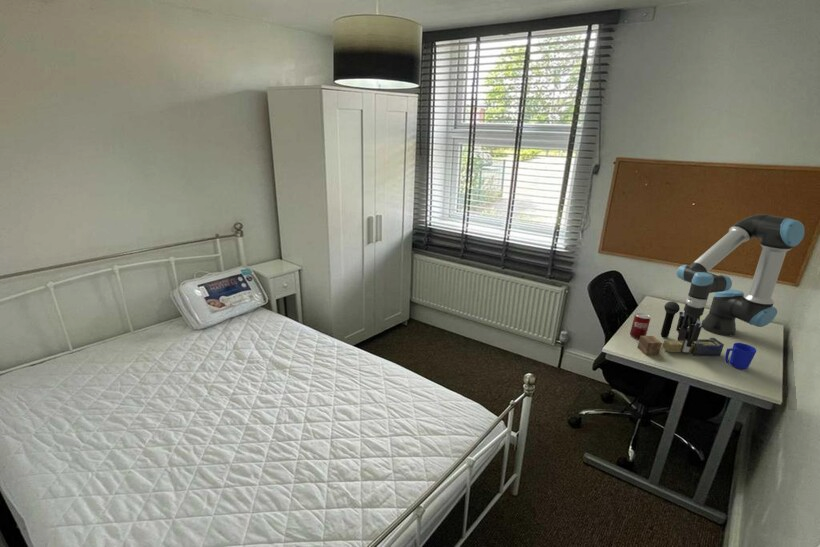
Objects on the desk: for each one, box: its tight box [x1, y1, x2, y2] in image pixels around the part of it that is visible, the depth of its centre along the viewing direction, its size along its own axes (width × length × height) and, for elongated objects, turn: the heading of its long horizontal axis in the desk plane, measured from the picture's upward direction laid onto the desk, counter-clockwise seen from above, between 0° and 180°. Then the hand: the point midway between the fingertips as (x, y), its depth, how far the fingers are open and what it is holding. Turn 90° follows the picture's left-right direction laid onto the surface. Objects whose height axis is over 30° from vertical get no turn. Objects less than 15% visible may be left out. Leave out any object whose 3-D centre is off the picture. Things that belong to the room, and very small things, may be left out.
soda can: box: [629, 312, 651, 340], centre depth 205 cm, size 7×7×12 cm
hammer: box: [662, 327, 717, 353], centre depth 191 cm, size 24×4×11 cm, turn 91°
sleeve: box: [688, 337, 725, 357], centre depth 193 cm, size 13×7×6 cm, turn 91°
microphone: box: [660, 301, 681, 339], centre depth 204 cm, size 7×7×20 cm
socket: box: [637, 335, 663, 356], centre depth 192 cm, size 6×7×7 cm
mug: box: [724, 342, 757, 370], centre depth 181 cm, size 8×12×10 cm
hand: (682, 349), depth 193 cm, fingers closed on hammer, 4 cm apart
